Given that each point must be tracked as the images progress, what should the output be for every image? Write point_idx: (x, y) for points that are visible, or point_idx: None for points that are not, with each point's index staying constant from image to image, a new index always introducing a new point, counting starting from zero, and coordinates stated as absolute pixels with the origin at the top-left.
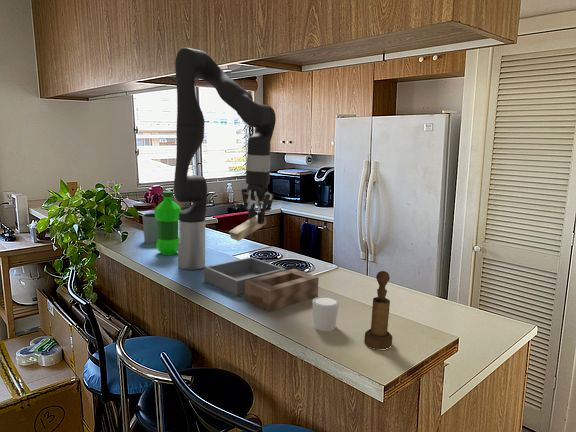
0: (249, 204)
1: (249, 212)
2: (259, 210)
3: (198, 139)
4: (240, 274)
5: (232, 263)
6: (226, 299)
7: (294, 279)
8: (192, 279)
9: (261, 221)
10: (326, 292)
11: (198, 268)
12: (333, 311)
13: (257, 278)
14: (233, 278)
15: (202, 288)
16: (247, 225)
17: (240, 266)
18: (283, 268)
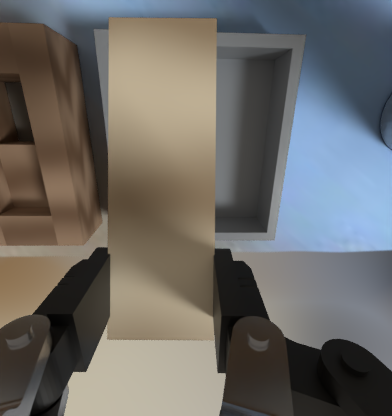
0: (246, 392)
1: (227, 294)
2: (3, 335)
3: None
4: (249, 173)
5: (275, 160)
6: (112, 3)
7: (48, 209)
8: (327, 31)
9: (76, 268)
10: (29, 251)
11: (384, 110)
12: None
13: (48, 86)
14: None
15: (238, 2)
16: (137, 162)
17: (266, 187)
18: None
